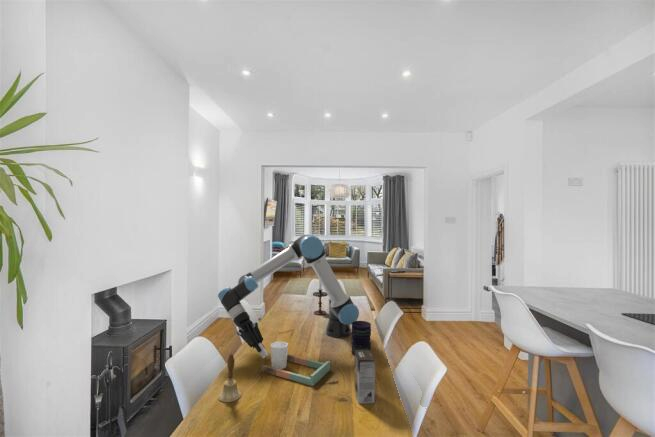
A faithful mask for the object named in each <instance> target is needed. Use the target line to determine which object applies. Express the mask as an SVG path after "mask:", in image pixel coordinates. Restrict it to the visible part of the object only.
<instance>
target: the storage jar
mask: <svg viewBox="0 0 655 437" xmlns="http://www.w3.org/2000/svg"><path fill="white" fill-rule="evenodd" d="M371 328H372V323H370V322H369V321H366V320H356V321H355V322H352V324H351V335H352V336H351V355H352V356H353V357H355V350H370V351H371V350H372V343H371V336H372V329H371ZM371 352H372V351H371Z"/></svg>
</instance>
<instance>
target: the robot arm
mask: <svg viewBox="0 0 655 437" xmlns="http://www.w3.org/2000/svg"><path fill="white" fill-rule="evenodd" d="M326 254H327V252H326V250H325V249H324V245H323V242H322V240H321V239H320V238H319V237H318V236H315V235H313V234H304V235H301V236H300V237H298V238H297V239H295V240H294V241H293V242H291V243H290V244H288V247H287V248H285V249H283V250H282V251H281V252H279V253H277V254H276V255H275V256H272V257H271V258H270V259H268V260H266V261H265V262H263V263H262V264H260V265H258V266H257V267H256V268H254V269H253V270H251V271H249V272H248V273H246V274H244V275H242V276H240V277H239V279H238V282H237V283H238V284H237V285H236V286H234V287H233V288H231V287H230V286H228V287H225V288H223V289H222V290H220V291H219V292H218V294H217V297H218V300H219V301H220V303H221V305H222V306H223V308H224V309H225V311H226V313H227V314H228V316H229V317H230V318H231V320H232V322H233V324H234V325H235V327H236V328H238V329H237V330H238V331H237V332H236V334H237V335H238V336H239V337H240V338H241V339H242V340H243V341H244V342H245V343H246V344H247V345H248V347H250V348H252V349H255V350H256V351H257V353H259V355H260V356H261V358H262V359H265V358H267V356H268V355H269V353H268V351H267V350H266V348H265V346H264V344H263V342H264V338H263V335H262V333H261V330H260V328H259V324H258V322H253V321H252V319H250V318H251V316H250V315H249V313H248V312H247V311H246V309H245V307H244V306H243V303H241V301H243V299H244V300H245V298H246V297H247V296H248V295H251V293H253V292H255V290H257V289H258V288H259V283H260V282H262V281H263V280H265V279H266V278H267V277H269V276H271V275H273V274H274V273H275V272H277V271H279V270H280V269H282V268H283V267H285V266H286V265H288V264H289V263H291V262H292V261H294V260H295V259H297V260H299V259H300V258H302V257H303V259H304V260H305V262H306V264H307V265H310V266H311V268H312V269H313V271H314V273H315V275H316V276H317V278H318V281H319V280H320V282H321V284H322V287H323V289H324V292H326V293H327V294H328V295H327V296H328V322H327V324H326V327H325V334H326V335H327V336H329V337H332V338H345V337H349V336H350V335H352V322H355V321H358V319H359V316H360V310H359V308H358V306H357V305H355V304H354V302H353V300H352V298H351V296H350V295H349V294H348V293H345V292H344V289H343V287H342V286H341V284H340V282H339V281H338V279H337V276H336V274H335V273H334V271H333V269H332V267H331V266H330V264H329V262H328V261H327V259H326V258H327V257H326V256H327V255H326Z"/></svg>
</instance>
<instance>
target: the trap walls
mask: <svg viewBox="0 0 655 437" xmlns="http://www.w3.org/2000/svg"><path fill="white" fill-rule="evenodd" d="M294 356H295V357H294V362H293V363H295V364H298V363H299V364H298V365H303V366H306V367H308V366H307V360H308V358H305V357H300V356H296V355H294ZM291 372H292V371H288V370H284V369H277V370H276V375H275V376H277V377H280V378H282V379H287V380H290V373H291Z"/></svg>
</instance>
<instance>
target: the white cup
mask: <svg viewBox="0 0 655 437" xmlns="http://www.w3.org/2000/svg"><path fill="white" fill-rule="evenodd" d="M288 349H289V343H288V342H286V341H282V340H279V341H278V340H277V341H274V342H272V343H271V344H270V360H271V361H270V362H271V367H274V368H277V369H281V370H284V369H286V367H287V363H288V361H287V354H288Z"/></svg>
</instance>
